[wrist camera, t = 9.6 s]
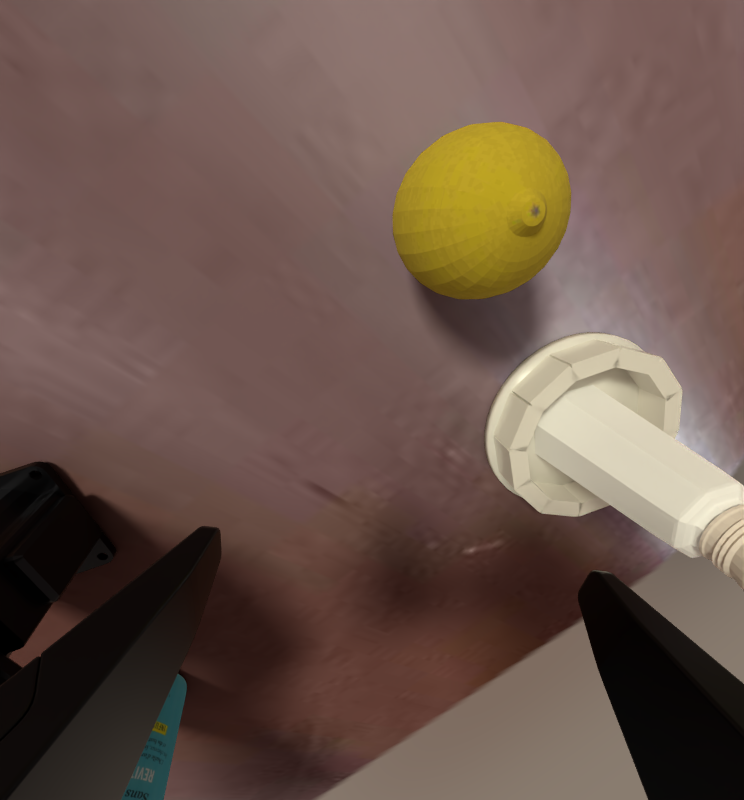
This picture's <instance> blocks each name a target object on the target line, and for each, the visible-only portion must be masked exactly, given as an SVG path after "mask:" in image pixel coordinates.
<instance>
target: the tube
mask: <svg viewBox="0 0 744 800" xmlns="http://www.w3.org/2000/svg"><path fill="white" fill-rule="evenodd" d="M186 691H187V684H186V681H185V679H184V678H183V677H182V676H181V675H179V674H177V676H176V679H175V681H174V683H173V685H172V688H171V690H170V692H169V694H168V696H167V699H166V701H165V703H164V705H163V708H162V710H161V712H160V714H159V717H158V719H157V721H156V723H155V725H154V728H153V730H152V732H151V734H150V737H149V739H148V741H147V743H146V745H145V748H144V750H143V752H142V754H141V757H140V759H139V761H138V763H137V765H136V768H135V770H134V772H133V774H132V777H131V779H130V781H129V783H128V786H127V788H126V790H125V792H124V794H123V797H122V799H121V800H163V799H164V795H165V790H166V785H167V780H168V776H169V771H170V766H171V761H172V757H173V752H174V747H175V743H176V738H177V734H178V729H179V724H180V720H181V715H182V711H183V706H184V701H185V697H186Z"/></svg>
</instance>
